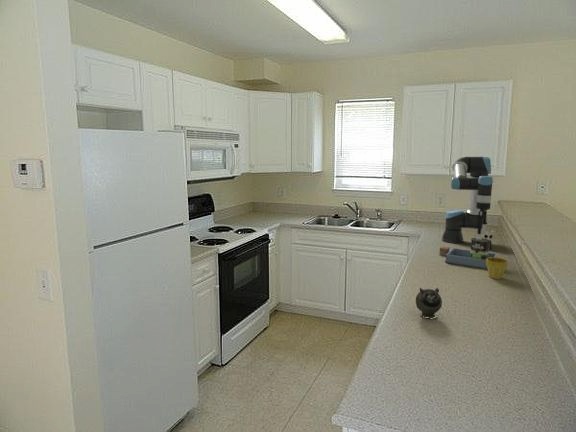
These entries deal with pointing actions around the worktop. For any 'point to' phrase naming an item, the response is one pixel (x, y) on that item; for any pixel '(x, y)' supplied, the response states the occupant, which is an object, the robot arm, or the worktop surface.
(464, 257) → the tote
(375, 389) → the worktop surface
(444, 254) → the brown wooden cube
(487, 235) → the character mug
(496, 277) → the plant pot
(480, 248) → the coffee can
